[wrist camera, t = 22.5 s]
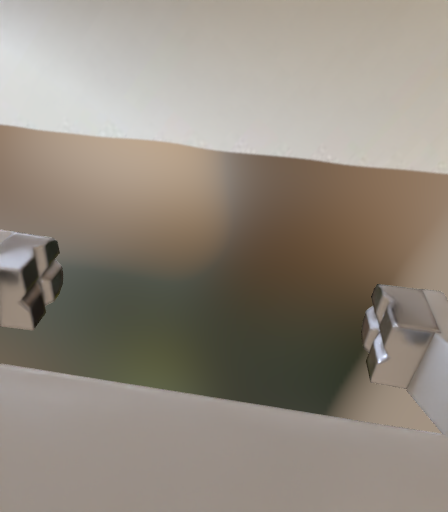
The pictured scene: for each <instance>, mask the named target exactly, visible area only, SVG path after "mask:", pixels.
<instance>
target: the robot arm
mask: <svg viewBox="0 0 448 512" xmlns="http://www.w3.org/2000/svg"><path fill="white" fill-rule="evenodd" d="M59 253H60V252H59V247H58V242H57V241H56V240H55V239H54V238H50V237H44V236H37V235H32V234H25V233H19V232H13V231H5V230H0V326H3V327H11V328H19V329H27V330H34V328H35V327H36V326H37V324H38V323H39V321H40V320H41V319H42V317H43V316H44V315H45V313H46V310H45V305H47V304H49V303H51V302H53V301H55V299H56V298H57V296H58V295H59V293H60V290H61V287H62V284H63V271H62V266H61V265H60V264H59V263H58V262H57V261H56V259H55V258H56V257H57V256H58V254H59ZM371 298H372V302H373V306H372V307H371V308H370V309H368V310H367V311H366V313H365V316H364V319H363V325H362V331H361V333H362V344H363V348H364V349H365V350H366V351H367V352H368V353H369V354H368V357H367V360H366V363H367V368H368V372H369V378H370V382H371V383H376V384H382V385H388V386H393V387H399V388H404V389H407V392H408V393H409V394H410V395H411V397H412V398H413V399H414V400H415V401H416V403H417V404H418V405H419V406H420V407H421V409H422V410H423V411H424V412H425V414H426V415H427V416H428V417H429V418H430V420H431V421H432V422H433V423H434V424H435V425H436V427H437V428H438V429H439V430H440V432H441V433H442V434H439V433H433V432H427V431H421V430H414V429H408V428H401V427H395V426H388V425H381V424H375V423H369V422H363V421H357V420H350V419H344V418H338V417H332V416H326V415H320V414H313V413H307V412H301V411H295V410H289V409H283V408H276V407H270V406H264V405H258V404H251V403H245V402H239V401H233V400H226V399H220V398H214V397H208V396H201V395H195V394H189V393H183V392H176V391H170V390H164V389H157V388H151V387H145V386H138V385H132V384H126V383H119V382H113V381H107V380H100V379H94V378H88V377H81V376H75V375H69V374H63V373H57V372H50V371H44V370H38V369H31V368H25V367H19V366H13V365H7V364H0V512H448V300H447V298H446V296H445V295H444V293H442V292H441V291H434V290H425V289H413V288H405V287H397V286H389V285H381V284H377V285H376V287H375V288H374V291H373V293H372V296H371Z"/></svg>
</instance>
